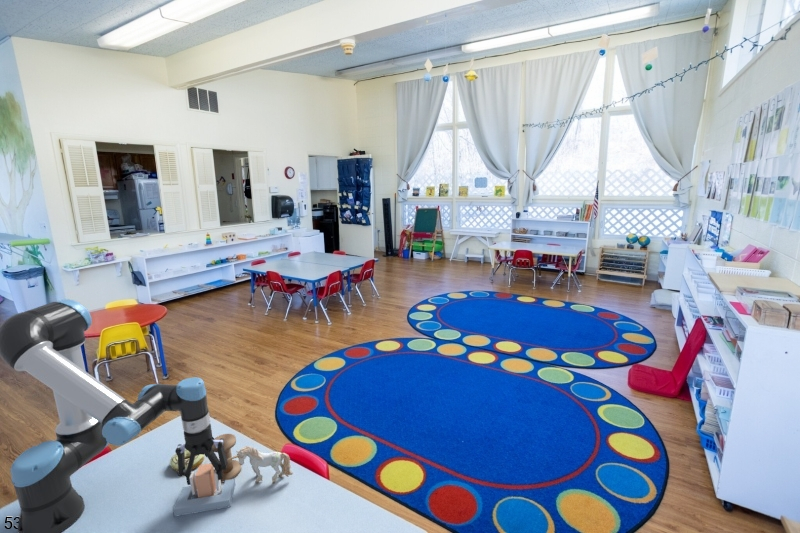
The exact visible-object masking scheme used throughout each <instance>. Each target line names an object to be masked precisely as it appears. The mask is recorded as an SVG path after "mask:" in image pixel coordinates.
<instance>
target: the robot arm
mask: <svg viewBox="0 0 800 533" xmlns="http://www.w3.org/2000/svg"><path fill="white" fill-rule="evenodd" d="M92 322H93V321H92V315H91V314H90V312H89V310H88V309H87V307H86V306H84V305H83V304H81V302H79V301H76V300H74V299H69V298H67V299H66V298H64V299H60V300H58V301H57V300H56V301H51V302H49V303H46V304H43V305H41V306H37V307H35V308H31V309H28V310H25V311H23V312H22V311H21V312H19V313H15V314H13V315H11V316H10V317H8V318H6V320H4V321H3V322H2V324H0V358H1V359H2V361H4V363H6V364H7V365H8V366H9V367H10V368H12V369H14V370H15V371H16V372H24V371H25V372H26V373H27V374H29V375H30V376H32V377H33V378H35V379H36V380H38V381H39V382H41V383H42V384H44V385H45V386H47V387H48V388H50V389H51V390H52V392H53V398H54V401H55V407H56V409H57V415H58V420H59V423H58V424H57V425H56V427H55V428H54V430H55V436H56V439H55V440H46V441H43V442H39V444H38V445H32V446H31V447H29V448H28V449H26V450H24V451H23V452H22V453H21V454H20V455H18V456H17V457H16V458H15V460H14V461H13V463H12V464H11V467H10V476H11V483H12V484H13V487H14V490H15V494H16V498H17V502H18V504H19V508H20V513H19V520H18V525H17V532H18V533H62V532H64V531H65V530H67V529H68V528H70V527H71V526H72V525H74V523H75V522H76V521H78V519H79V518H80V517H81V516H82V515H83V513H84V511H85V508H86V507H85V501H84V498H83V496H81V495H80V494H79V493H78V492H77V491H76V489H75V488H74V487H73V485H72V480H71V477H72V476H73V474H74V473H76V472H77V471H78V470H80V469H81V468H82V467H83V466H85V465H86V464H87V463H88V462H90V461H91V460H92V459H93V458H95V457H96V456H98V455H99V454H102V452H103V451H104V450H105V449H106V448H107V447H108V446H109V445H113V446H117V447H118V446H119V447H120V446H123V445H125V444H127V443H129V442H130V441H131V440H132V439H134V438H136V437H137V436H139V434H140V433H141V432H142V431H143V430H144V429H145V428H148V426H149V425H150V424H152V423H153V422H154V421H156V420H157V419H158V418H159V417H160V416H162V415H163V413H165V412H179V413H180V418H181V424H182V429H183V437H184V441H185V442H184V444H181V443H179V444H178V445H177V447H176V449H175V451H174V452H175V454H177V456H178V471H177V473H178V476H179V477H181V478H182V477H185V478H186V485H187V486H191V491H192V496H194V495H196V492H197V486H196V479H195V475H196V471H195V470H194V471H193V470H192V467H193V463H194V459H195V456H196V455H200V454H204V457H205V458H207V459H208V460H209V462H210V463H211V464H212V465H213V468H214V469H215V473H214V476H215V483H216V491H217V492H218V491H220V490H221V486H222V482H221V480H222V477H223V471H222V470H225V469H226V467H227V464H228V461H227V458H226V454H225V450H224V446H223V442H224V439H223V438H221V439H220V440H215V438H214V436H213V431H212V424H211V419H210V418H211V417H210V412H209V406H208V398H207V389H206V385H205V382H204V380H203V379H202V378H200V377H198V376H197V377H196V376H193V377H188V378H184V379H183V380H180V381H179V382H178V383H177V384H164V383H163V384H162V383H155V384H148V385H145V386H144V387H143V388H141V391H140V392H139V393H138V396H137V400H136V401H135V402H133V403H132V402H130V401H128V400H127V399H125V398H124V397H123V396H121V395H120V394H119V393H117V392H115V391H114V390H112V389H111V388H110V387H108V386H107V385H106V384H104V383H103V382H101V381H100V380H98V379H97V378H95V377H94V376H93V375H91V374H89V373H88V371H86V366H85V361H84V358H83V353H82V347H81V346H82V345H83V344H85V342H86V341H87V340H86V336H85V332H87V330H88V329H89V328H91V326H92ZM213 444H214V445H215V446H216V448H217V451H218V452H217V453H218V454H216V452H214V451H213V448H212V445H213ZM185 449H187V450H188V451H189V452H190V453H191V454H190V458H189V463H188V467H187V469H185V452H184V451H185ZM217 455H218V456H217ZM219 459H220V461H219Z"/></svg>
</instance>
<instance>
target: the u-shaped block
mask: <svg viewBox="0 0 800 533" xmlns="http://www.w3.org/2000/svg"><path fill="white" fill-rule="evenodd" d="M223 483H224V484H223V486H222V491H221V493H220V494H214V496H208V497H202V498H198V497H196V498H193V495H192V491H191V485H187V486H183V487H182V488H181V491H180V493H179V496H178V498H177V500H176V502H175V505H174V507H173V515H174V517H178V516H185V515H190V514H196V513H197V514H198V513H201V512H207V511H213V510H219V509H225V508H230V507H231V505H232V502H233V501H232V500H233V497H234V493H235V489H236V486H237V485H236V478H233V479H230V480H225V482H223Z"/></svg>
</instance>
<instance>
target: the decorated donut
mask: <svg viewBox="0 0 800 533" xmlns="http://www.w3.org/2000/svg"><path fill="white" fill-rule="evenodd" d="M184 452H185V469H187V467H188V463H189V458H190V454H191V453H190V452H189V451H188V450H187V449H185V451H184ZM204 459H205V454H200V455H196V456H195V459H194V463H193V467H192V471H193V470H194V469H196V468H199V465H202V463H203V461H204ZM169 464H170V467H171V468H172V469H173V470H174V471H176V472H178V456H177V454H176V453H175V454H174V455H172V457H171V459H170V463H169Z"/></svg>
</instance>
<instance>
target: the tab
mask: <svg viewBox="0 0 800 533" xmlns="http://www.w3.org/2000/svg"><path fill="white" fill-rule="evenodd" d="M214 469H215V468H214V467H213V465H212V464H211V462H210V463H204V464H200V465H199V466H198V467H197V470H196V472H195V479H196V486H197V490H196V492H197V498H202V497H208V496H214V495H216V491H217V489H216V482H215V476H214Z"/></svg>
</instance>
